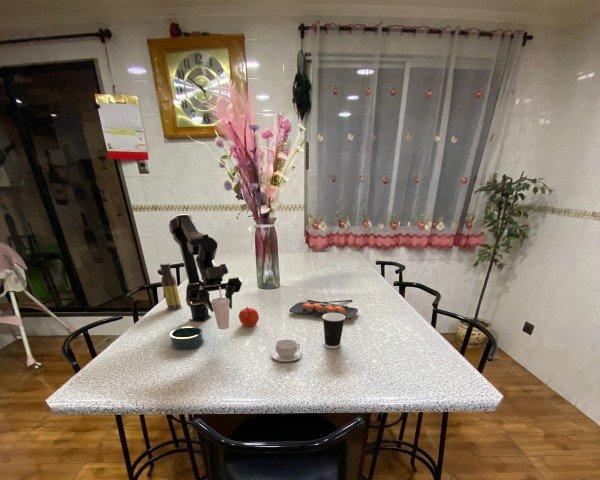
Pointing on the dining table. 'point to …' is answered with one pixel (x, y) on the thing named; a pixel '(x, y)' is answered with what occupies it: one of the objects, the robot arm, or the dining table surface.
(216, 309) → the smoothie
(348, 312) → the sushi plate
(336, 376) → the dining table surface
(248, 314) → the apple
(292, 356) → the teacup
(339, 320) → the dixie cup
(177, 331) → the bowl
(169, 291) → the sauce bottle
